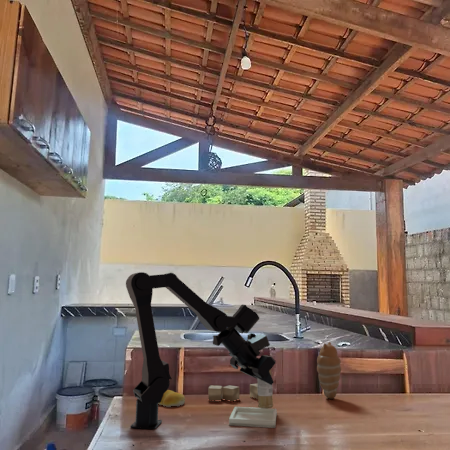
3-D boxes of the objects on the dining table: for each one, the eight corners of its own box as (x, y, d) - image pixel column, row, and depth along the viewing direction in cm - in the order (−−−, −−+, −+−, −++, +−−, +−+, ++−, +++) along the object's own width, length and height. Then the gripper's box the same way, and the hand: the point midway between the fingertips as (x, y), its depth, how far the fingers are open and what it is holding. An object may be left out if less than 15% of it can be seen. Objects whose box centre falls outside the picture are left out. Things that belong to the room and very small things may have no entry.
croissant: (323, 394, 140) (321, 340, 143) (345, 397, 136) (343, 342, 139) (313, 399, 133) (312, 342, 136) (336, 403, 128) (334, 344, 132)
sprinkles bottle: (265, 405, 122) (263, 358, 126) (276, 407, 119) (274, 359, 122) (254, 407, 119) (252, 359, 123) (265, 409, 116) (263, 360, 120)
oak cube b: (232, 402, 129) (232, 389, 130) (222, 400, 131) (222, 387, 132) (239, 399, 132) (239, 386, 133) (229, 397, 134) (229, 385, 135)
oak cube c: (266, 397, 135) (266, 385, 135) (257, 399, 133) (257, 386, 133) (259, 395, 138) (258, 383, 139) (249, 397, 136) (249, 384, 137)
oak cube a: (220, 401, 129) (220, 388, 130) (208, 401, 130) (208, 388, 130) (222, 398, 133) (222, 385, 134) (210, 398, 134) (210, 385, 134)
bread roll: (171, 409, 120) (172, 395, 121) (151, 404, 126) (152, 390, 127) (190, 404, 127) (191, 390, 127) (170, 399, 132) (171, 386, 133)
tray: (275, 427, 104) (275, 421, 104) (229, 425, 105) (229, 418, 106) (276, 414, 115) (276, 408, 116) (234, 412, 117) (234, 406, 117)
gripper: (269, 327, 114) (302, 366, 117) (239, 323, 131) (268, 357, 133) (244, 357, 109) (279, 397, 112) (216, 349, 126) (247, 384, 129)
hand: (268, 382), depth 122 cm, fingers closed on sprinkles bottle, 4 cm apart
